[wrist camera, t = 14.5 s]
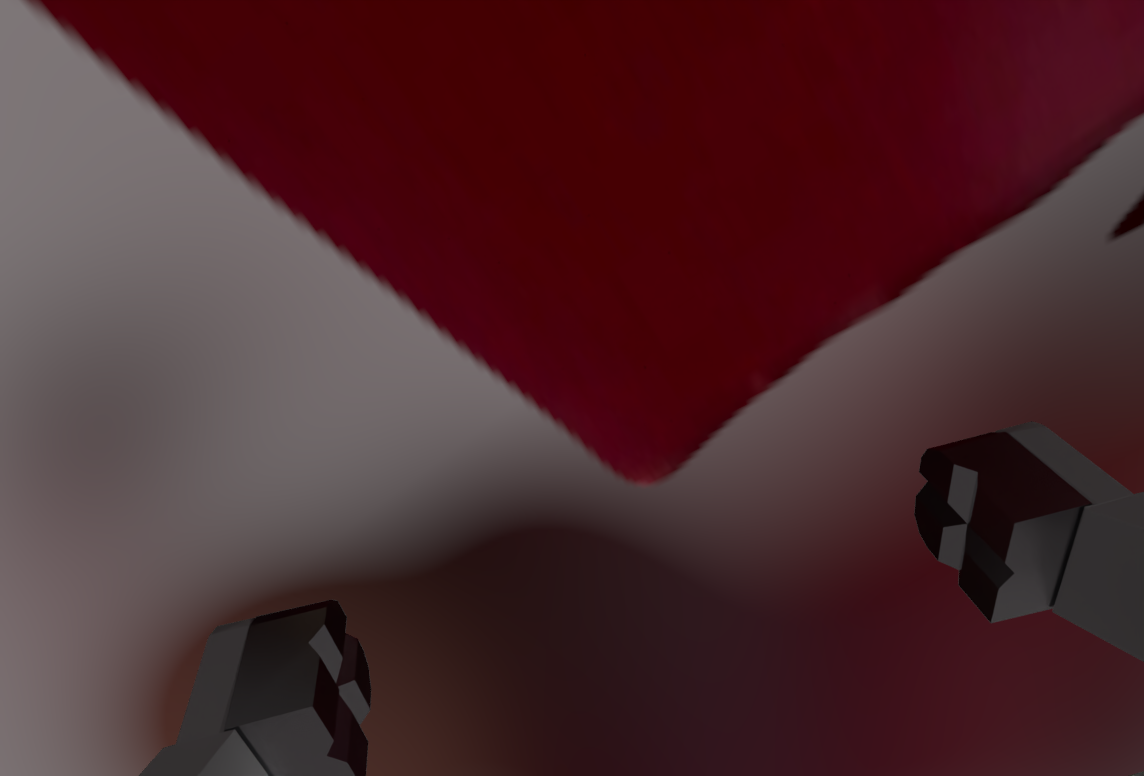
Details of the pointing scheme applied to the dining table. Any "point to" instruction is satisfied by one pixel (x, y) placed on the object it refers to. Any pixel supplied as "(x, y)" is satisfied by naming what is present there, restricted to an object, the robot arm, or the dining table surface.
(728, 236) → the dining table surface
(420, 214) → the dining table surface
